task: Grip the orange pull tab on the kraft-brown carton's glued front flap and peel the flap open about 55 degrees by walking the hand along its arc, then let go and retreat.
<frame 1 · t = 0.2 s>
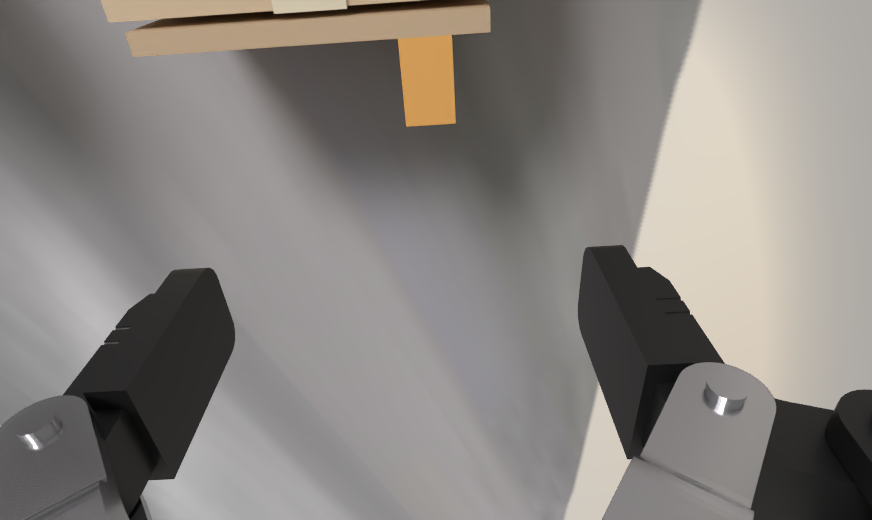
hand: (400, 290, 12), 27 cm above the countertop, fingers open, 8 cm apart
flap: (334, 53, 29), point 6 cm above the countertop, hinge at 0.0°
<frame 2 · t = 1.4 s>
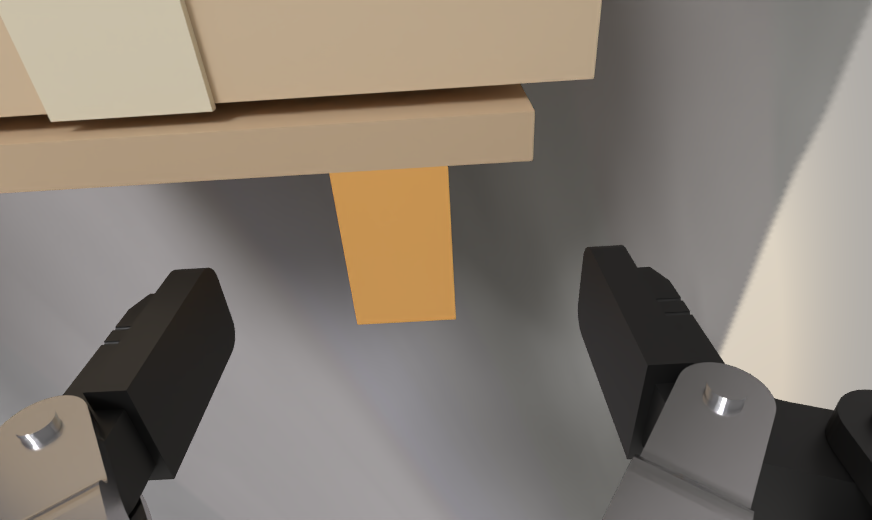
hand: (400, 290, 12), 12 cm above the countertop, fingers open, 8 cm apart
flap: (239, 151, 16), point 6 cm above the countertop, hinge at 0.0°
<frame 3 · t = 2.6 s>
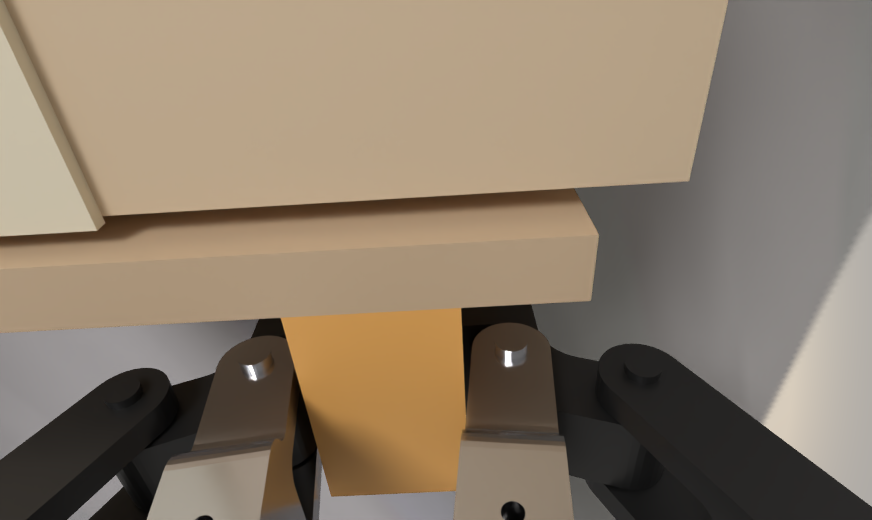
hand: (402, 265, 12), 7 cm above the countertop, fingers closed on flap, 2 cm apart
flap: (187, 228, 13), point 6 cm above the countertop, hinge at 0.0°, touching gripper
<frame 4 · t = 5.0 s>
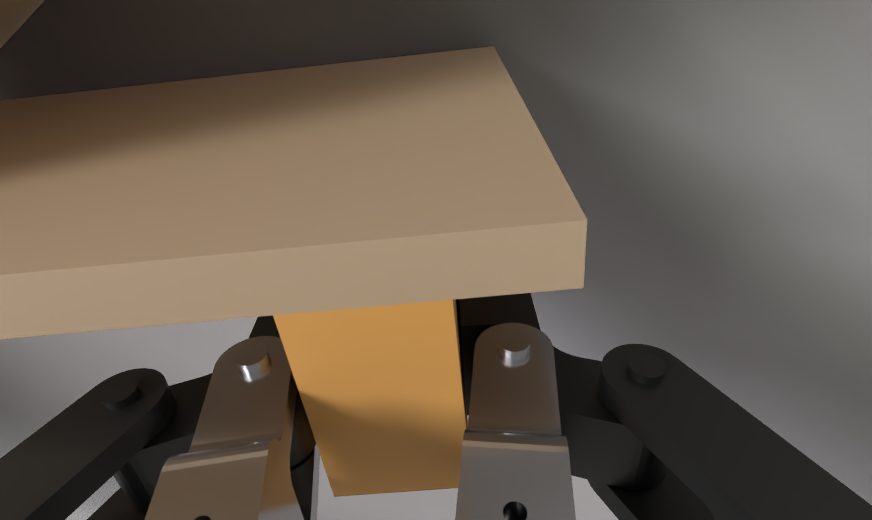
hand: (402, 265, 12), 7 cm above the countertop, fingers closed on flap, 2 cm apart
flap: (188, 236, 13), point 6 cm above the countertop, hinge at 29.4°, touching gripper
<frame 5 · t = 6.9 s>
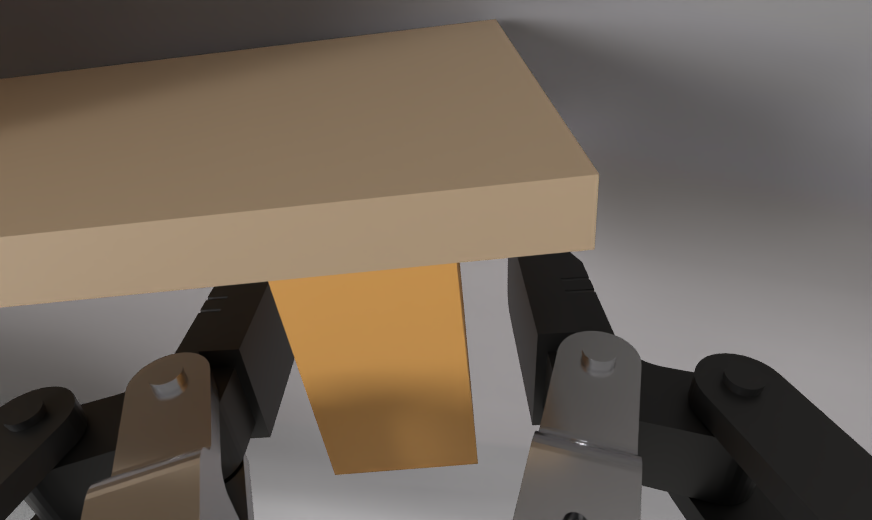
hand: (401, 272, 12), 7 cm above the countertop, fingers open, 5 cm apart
flap: (183, 213, 12), point 6 cm above the countertop, hinge at 52.2°
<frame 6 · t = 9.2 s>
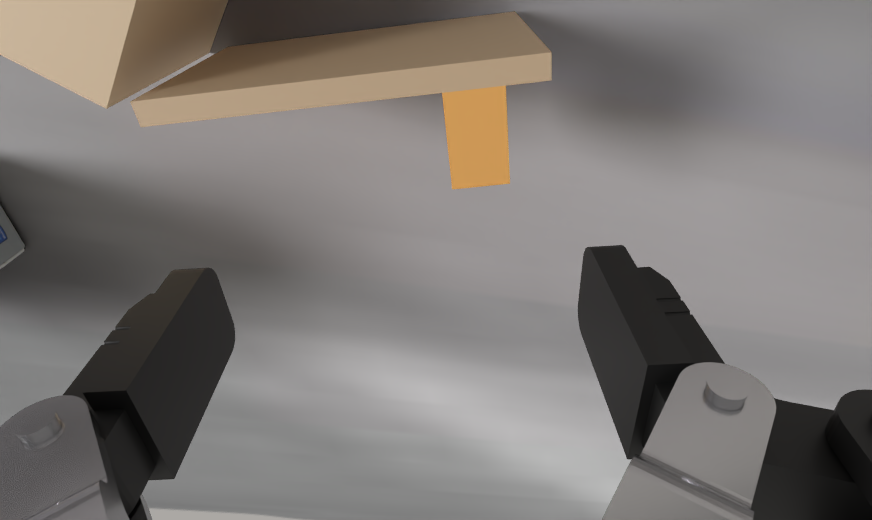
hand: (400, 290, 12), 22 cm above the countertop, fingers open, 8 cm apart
flap: (365, 103, 26), point 6 cm above the countertop, hinge at 52.2°
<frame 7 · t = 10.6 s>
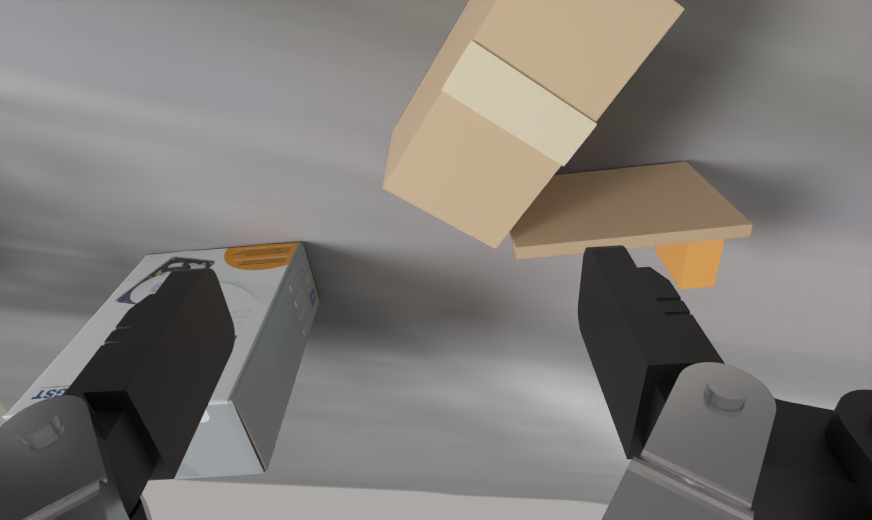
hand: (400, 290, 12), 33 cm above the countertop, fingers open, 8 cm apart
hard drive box: (235, 277, 52), on the countertop
carton: (499, 64, 41), on the countertop
flap: (607, 228, 42), point 6 cm above the countertop, hinge at 52.2°
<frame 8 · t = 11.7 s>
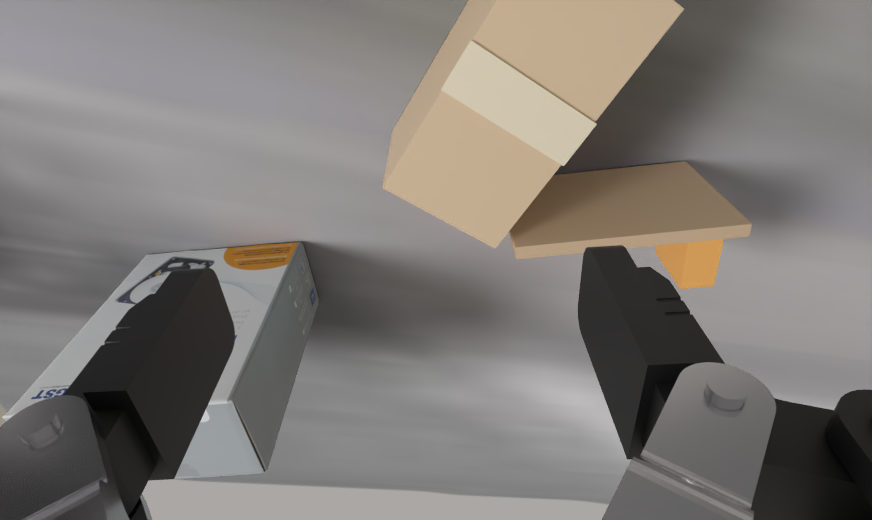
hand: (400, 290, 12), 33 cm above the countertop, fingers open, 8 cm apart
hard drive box: (235, 277, 52), on the countertop
carton: (499, 64, 41), on the countertop
flap: (607, 227, 42), point 6 cm above the countertop, hinge at 52.2°
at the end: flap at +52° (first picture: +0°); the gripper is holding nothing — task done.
